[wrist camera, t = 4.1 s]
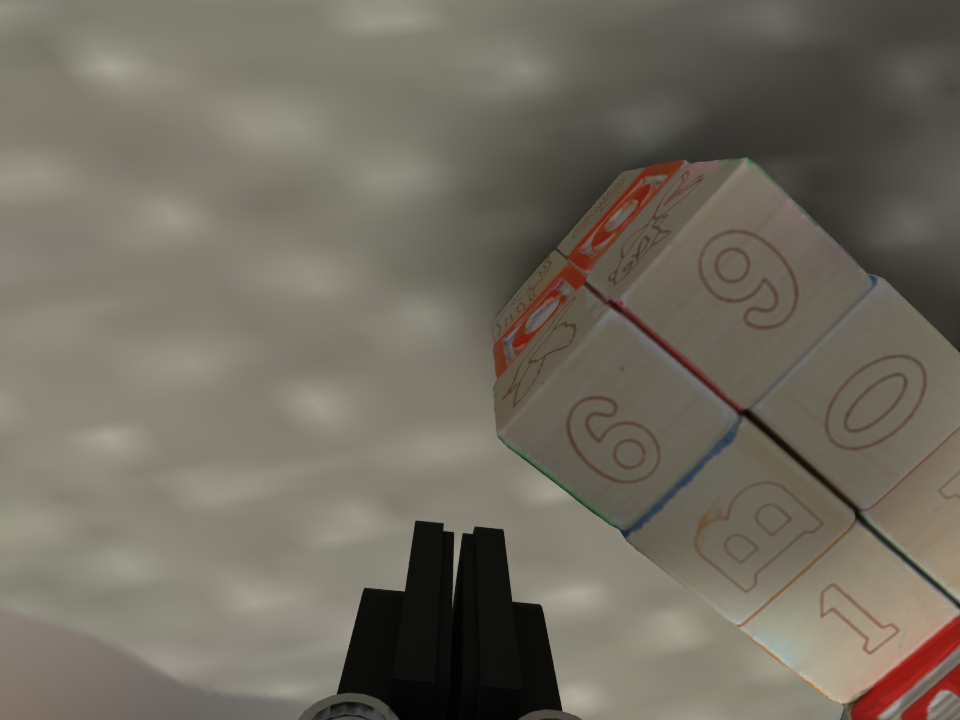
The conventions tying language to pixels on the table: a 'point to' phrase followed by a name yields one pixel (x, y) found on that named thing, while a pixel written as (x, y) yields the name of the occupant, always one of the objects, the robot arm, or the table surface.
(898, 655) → the stack of blocks
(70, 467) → the table surface
